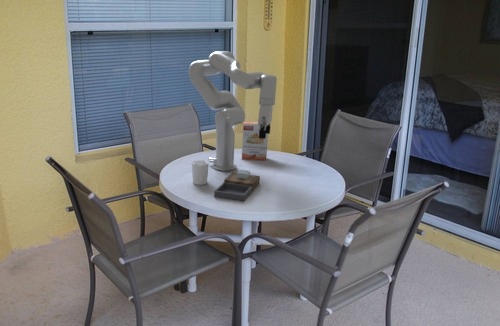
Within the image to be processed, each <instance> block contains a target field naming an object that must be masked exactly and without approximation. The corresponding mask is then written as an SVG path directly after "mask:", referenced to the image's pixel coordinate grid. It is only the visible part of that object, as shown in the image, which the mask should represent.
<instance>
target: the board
mask: <svg viewBox="0 0 500 326" xmlns="http://www.w3.org/2000/svg"><path fill="white" fill-rule="evenodd" d="M260 179H261V176H260V175H256V174H255V175H254V174H250V176H249V177H248V178H247V179H244V178H237V172H233V171H232V172H231V173H230V174H229V175H228V176H227V177H226V178H224V181H223V182H225V183H232V184H239V185H246V186H252V193H253V192H254V191H255V190H256V189H257V188H258V186H259V185H260V181H261V180H260Z"/></svg>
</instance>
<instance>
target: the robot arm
mask: <svg viewBox="0 0 500 326" xmlns="http://www.w3.org/2000/svg"><path fill="white" fill-rule="evenodd" d="M188 67H189V68H188V76H189V80H190V82H191V84H192V85H193V86H194V87H195V89H196V90H197V92H199V94H200V96H201V97H202V98H203V101H204V102H205V104H206V105H207V107H209V109H210V110H212V111H217V112H215V115H214V122H215V128H216V129H215V131H216V132H215V133H216V135H215V141H216V142H215V157H214V158H213V157H208V163H212V169H213V170H217V171H221V172H222V171H223V172H228V171H229V172H230V171H234V170H236V169H237V165H236V164H235V163H234V162H235V161H234V160H235V136H236V135H235V132H234V129H233V126H237V125H240V124H244V122H245V120H246V113H245V110H244V108H243V107H242V105H241V104H240V102H239V100H238V99H237V98H236V97H235V95H234V94H233V93H232V92H230V91H229V90H218V89H217V88H216V85H214V83H213V82H212V80H210V79H208V78H207V77H211V76H216V75H219V74H221V73H223V74H225V75H227V76H228V77H229V79H230V80H231V82H232V83H233V84H235V85H237V86H238V87H240V88H242V89H244V90H253V89H259V98H258V99H259V100H258V101H259V102H258V105H259V111H258V118H257V122H258V125H260V129H259V138H263V139H265V138H266V134H268V135H269V134H271V124H272V123H271V122H272V119H273V108H274V107H273V106H275V104H276V95H277V94H276V92H277V83H278V82H277V80H278V79H277V76H276V75H273V74H267V73H264V72H261V71H257V72H248V73H247V72H245V71H243V70H241V63H240V62H239V61H238V60H237V59H235V55H234V54H233V53H232V52H231V51H228V50H222V51H221V50H220V51H214V52H212V53H211V54H210V55H209V56H208V59H198V60H196V61H193V62H192V63H191V64H189V66H188Z"/></svg>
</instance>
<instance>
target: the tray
mask: <svg viewBox="0 0 500 326" xmlns="http://www.w3.org/2000/svg"><path fill="white" fill-rule="evenodd" d="M252 193H253V192H252V186H246V185H239V184H232V183H225V182H224V181H223V182H222V183H221V184H220V185H219V186H218V187H217V188H216V189H215V190H214V192H213V195H214V196H213V197H214V198H217V199H223V200H229V201H236V202H242V203H245V201H246V200H247V199H248V198H249V197H250V196H251V194H252Z"/></svg>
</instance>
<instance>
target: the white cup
mask: <svg viewBox="0 0 500 326" xmlns="http://www.w3.org/2000/svg"><path fill="white" fill-rule="evenodd" d="M209 163H210V162H209V161H206V160H194V161H192V162H191V172H192V183H193V184H194V185H197V186H203V185H206V184H207V183H208V176H209Z"/></svg>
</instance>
